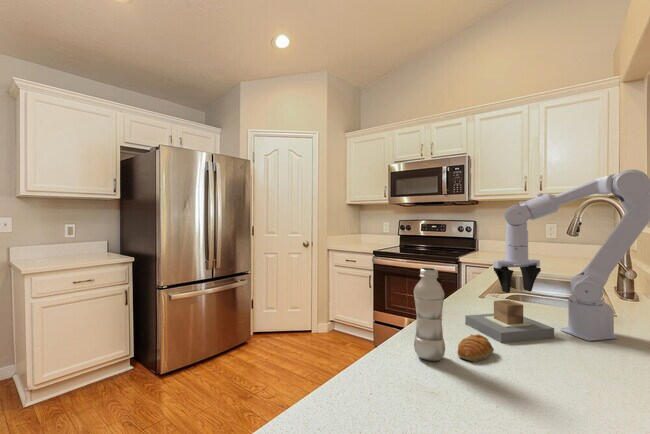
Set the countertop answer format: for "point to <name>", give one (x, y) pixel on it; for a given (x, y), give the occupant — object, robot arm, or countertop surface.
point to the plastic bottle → (429, 316)
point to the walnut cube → (508, 312)
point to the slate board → (509, 328)
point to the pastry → (475, 348)
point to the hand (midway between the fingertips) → (516, 291)
